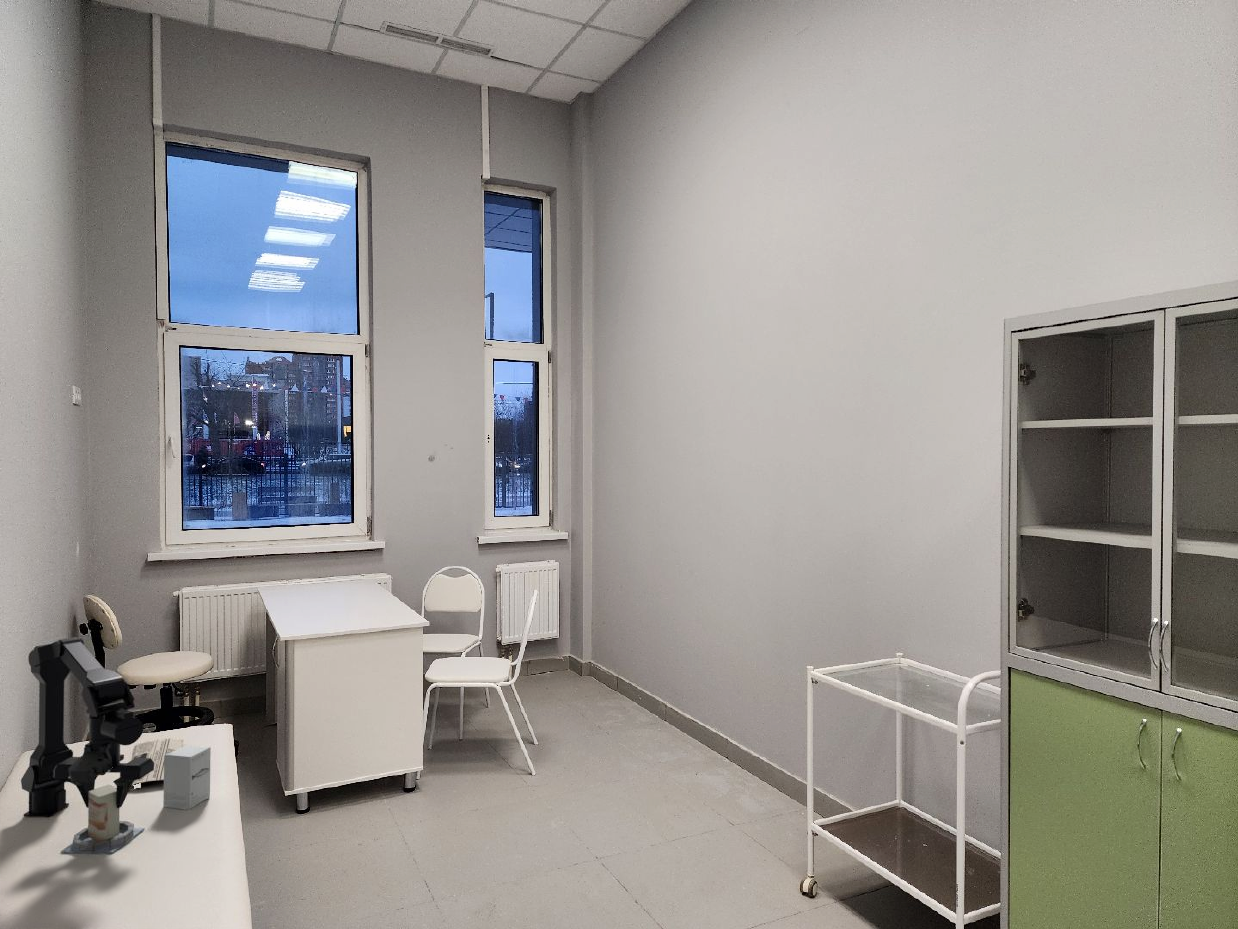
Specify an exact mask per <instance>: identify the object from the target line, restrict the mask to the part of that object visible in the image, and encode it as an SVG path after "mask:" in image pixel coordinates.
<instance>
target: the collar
mask: <svg viewBox="0 0 1238 929" xmlns="http://www.w3.org/2000/svg"><path fill="white" fill-rule="evenodd" d="M145 829H146V828H145V827H135V824H134V823H132V822H130V821H127V820H119V835H118V836H116V837H113V838H110V839H107V840H105V841H100V842H96V841H95V840H93V839H91V838H90V837H89V836H88V827H86V828H83V829H81V830H79V831H78V832H77V833H75V834H74V835H73V839H72V843H70V844H69V845H68V846H66V847H65V848H63V849H62V850H60V854H91V855H92V854H95V855H96V854H98V855H99V854H100V855H101V854H103V855H104V854H105V855H110V854H111V855H113V854H114V853H116V852H117V851H118V850H121V848H122V847H124V846H125V845H126V844H128V843H129V842H131V840H133V839H134V838H136V837H137V836H138V835H140V834H141V833H142V832H144V831H145Z"/></svg>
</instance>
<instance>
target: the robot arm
mask: <svg viewBox="0 0 1238 929" xmlns="http://www.w3.org/2000/svg"><path fill="white" fill-rule="evenodd" d="M28 664H29V667H30V673H31V674H32V675H33V676H34V678H35V679H36V680H37V681H38V682H39V684H38V685H39V688H38V689H39V690H38V692H39V693H38V698H39V700H38V701H39V702H38V744H37V746H36V747H35V749H34V751H33V752H32V753H31V755H30V756H29V765H28V767H27V769H26V770H25V772H24V774H23V775H22V777H21V779H20V784H21V789H22V790H23V791H25V792H28V811H27V812H24V813H23V817H30V818H32V817H33V818H34V817H36V818H38V817H39V818H41V817H43V818H50V817H52V816H54V815H56V814H58V813H59V812H60V811H62V810H64V809H65V808H67V807H69V806H70V803H69V802H68V803H67V789H66V788H65V783H71V784H72V785H74V786H76V788H77V790H78V791H79V794H80V796H81V799H82V800H83V802H84V805H85V807H86V809H88V803H89V791H91V790H94V789H95V786H96V785H95V784H96V780H97V778H98V776H104V775H106V774H107V773H109V774H110V773H116V774H118V773H119V777H118V778H116V779H115V780H113V781H112V782H113V783H114V784H115V787H116V788H117V794H116V804H117V808H119V809H120V808H122V806H123V804H124V803H125V800H126V798H127V796H128V793H129V792H130V788H131V786H132V784H133V782H134V781H135V780H138V779H141V778H142V777H144V776H145V775H147V774H148V773H150V772H152V771H153V770H154V761H153V760H152V759H151V758H135V759H133V760H132V759H131V760H129V761H128V762H125V763H124V762H122V761H123V760H125V754H121V746H130V745H132V744H135V743H136V742H137V741H138V740H140V738H141V736H142V735H143V732H144V724H143V722H142V721H141V720H140V719H139V718H138V717H134V716H135V715H134V713H135V712H134V711H133V710H130V709H135V708H136V707H135V703H134V701H135V698H134V696H133V694H132V691H131V688H130V687H129V684H128V682H127V681H126V679H124V677H123V676H121V675H120V674H119V673H117V672H116V671H115V670H110V669H106V668H105V667H103V666H102V665H101V663H100V662H99V661H98V660H97V659H96V658H95V656H94V655H93V654H92V653H91V651H89V649H88V647H86V646H85V643H84V640H83V638H82V637H78V636H75V637H74V636H73V637H67V638H62V639H58V640H57V641H53V642H52V643H48V644H43V645H42V644H40V645H37V646H35V647H34V648H33V649H32V650H30V652H29V654H28ZM71 673H72V674H73V675H74V677H75V678H76V679H77V680H78V682H80V684H81V686H82V691H81V693H80V694H81V697H82V700H83V702H84V704H85V705H86V708H87V709H86V710H85V711H86V712H85V713H86V714H89V718H88V719H89V722H88V725H89V726H88V728H89V729H88V730H89V732H88V733H89V734H88V738H89V740H88V742H87V743H86V744H84V748H83V753H82V755H81V756H74V751H73V750H72V749H71V748H69V747H68V745H67V744H66V743H65V741H64V740H65V739H64V738H65V731H64V730H65V681H66V679H67V677H68V676H69V674H71Z"/></svg>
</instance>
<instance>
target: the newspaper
mask: <svg viewBox="0 0 1238 929" xmlns="http://www.w3.org/2000/svg"><path fill="white" fill-rule="evenodd" d="M184 740H185V739H184V738H183V739H176V738H172V737H171V738H170V737H169V738H160V739H152V740H150V739H149V740H146V741H143V742H139V743H136V744H135V745H134V746H133V753H132V758H131V760H133V759H135V758H151V759H152V760H153V761H154V770H153V771H152V772H150V773H148V774H147V775H145V776H144V777H142V778H141V779H138V780H135V781H134V782H133V784H132V786H131V788H130V790H129V792H130V791H134V790H136V789H134V786H133V785H136V784H139V783H146V782H152V781H164V755H166V754H168V753H171V752H173V751H175V750H177V749H179V748H181V747H183V746H184Z"/></svg>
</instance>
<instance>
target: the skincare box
mask: <svg viewBox="0 0 1238 929" xmlns="http://www.w3.org/2000/svg"><path fill="white" fill-rule="evenodd" d="M116 794H117V787H116V786H112V785H111V784H107V785H104V786H101V787H97V788H94V790H91V791H89V803H88V808H87V809H88V812H87V813H88V815H87V816H88V818H87V819H88V820H87V821H88V822H87V823H88V824H87V826H88V827H87V828H88V836H89V837H90V838H91V839H93V840H95V841H96V842H100V841H105V840H107V839H110V838H113V837H116V836H118V835H119V821H120V808H117V804H116Z"/></svg>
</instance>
